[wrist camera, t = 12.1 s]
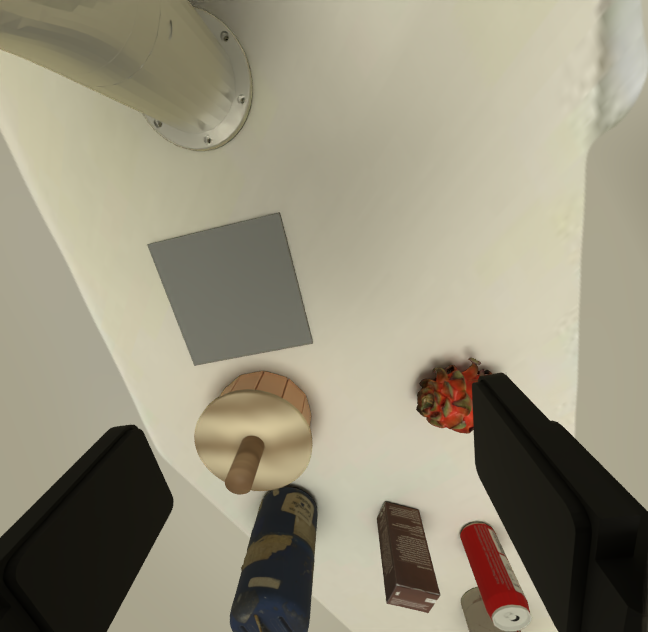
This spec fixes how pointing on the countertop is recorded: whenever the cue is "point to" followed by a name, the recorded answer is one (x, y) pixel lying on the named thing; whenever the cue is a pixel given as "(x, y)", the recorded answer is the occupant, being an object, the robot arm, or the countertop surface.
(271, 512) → the canister
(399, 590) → the box
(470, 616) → the thermos bottle
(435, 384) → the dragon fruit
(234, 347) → the mat
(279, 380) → the ring
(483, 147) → the countertop surface
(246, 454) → the lid
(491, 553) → the soda can
